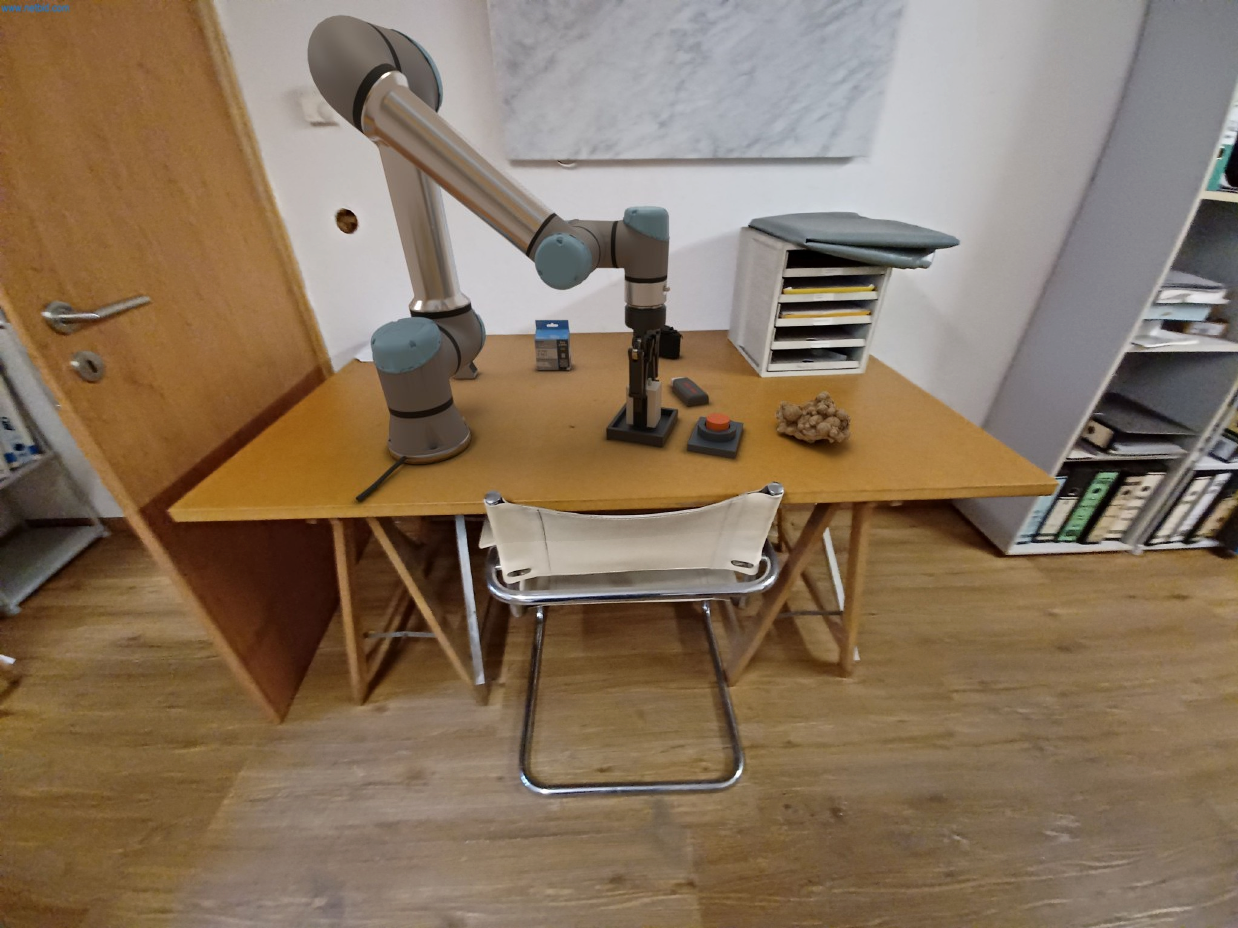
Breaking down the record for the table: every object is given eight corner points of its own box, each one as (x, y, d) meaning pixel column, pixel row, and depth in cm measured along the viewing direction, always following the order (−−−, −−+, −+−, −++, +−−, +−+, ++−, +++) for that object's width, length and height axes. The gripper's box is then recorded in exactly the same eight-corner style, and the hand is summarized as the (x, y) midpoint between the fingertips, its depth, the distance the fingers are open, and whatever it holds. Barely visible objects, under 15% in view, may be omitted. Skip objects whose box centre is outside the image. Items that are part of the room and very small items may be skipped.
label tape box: (536, 370, 130) (531, 324, 124) (539, 365, 134) (534, 319, 127) (570, 371, 130) (567, 324, 123) (572, 365, 133) (569, 319, 127)
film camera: (691, 350, 142) (693, 319, 137) (675, 361, 135) (677, 328, 130) (644, 341, 149) (645, 311, 144) (627, 351, 142) (628, 319, 137)
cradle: (662, 448, 96) (663, 437, 95) (606, 439, 100) (606, 428, 98) (677, 419, 106) (678, 409, 105) (626, 412, 110) (626, 401, 108)
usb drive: (687, 407, 111) (688, 396, 110) (666, 386, 121) (667, 376, 119) (708, 404, 112) (709, 393, 111) (686, 384, 122) (687, 373, 121)
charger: (654, 427, 99) (656, 384, 94) (626, 423, 101) (626, 380, 96) (660, 418, 103) (662, 375, 98) (633, 414, 104) (633, 372, 99)
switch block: (734, 459, 93) (736, 443, 91) (686, 451, 95) (687, 435, 93) (742, 430, 102) (744, 414, 100) (699, 423, 105) (700, 408, 103)
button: (726, 433, 95) (727, 425, 94) (703, 429, 96) (704, 421, 95) (730, 423, 98) (731, 415, 97) (708, 419, 99) (708, 411, 98)
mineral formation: (825, 417, 106) (869, 448, 93) (766, 433, 105) (802, 466, 92) (826, 382, 102) (872, 410, 89) (765, 398, 101) (802, 428, 88)
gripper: (652, 319, 81) (649, 443, 94) (677, 293, 95) (671, 404, 108) (609, 315, 83) (611, 437, 96) (639, 290, 97) (638, 399, 110)
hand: (643, 419), depth 102 cm, fingers closed on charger, 4 cm apart
